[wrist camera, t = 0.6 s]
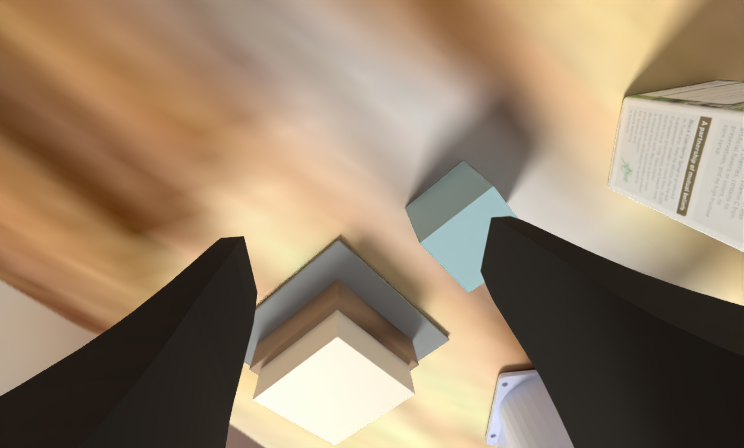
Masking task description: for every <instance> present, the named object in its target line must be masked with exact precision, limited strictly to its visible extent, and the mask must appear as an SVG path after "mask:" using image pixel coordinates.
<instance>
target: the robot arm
mask: <svg viewBox="0 0 744 448" xmlns="http://www.w3.org/2000/svg"><path fill="white" fill-rule="evenodd" d="M480 272H481V274H482V276H483V279H484V281H485V284H486V286H487V288H488V290H489V293H490V295H491V297H492V299H493V301H494V302H495V304H496V306H497V307H498V309H499V311H500V312H501V314H502V316H503V317H504V319H505V320H506V322H507V324H508V325H509V327H510V328H511V330H512V332H513V333H514V335H515V336H516V338H517V340H518V341H519V343H520V344H521V346H522V348H523V349H524V351H525V352H526V354H527V356H528V357H529V359H530V360H531V362H532V364H533V365H534V367H535V369H536V370H527V371H517V372H506V373H502V374H500V375H499V377H498V381H497V386H496V390H495V395H494V400H493V405H492V409H491V414H490V419H489V424H488V428H487V433H486V438H485V441H486V443H487V445H498V448H744V306H742V305H738V304H735V303H731V302H728V301H725V300H721V299H718V298H715V297H711V296H708V295H704V294H701V293H698V292H695V291H691V290H688V289H685V288H682V287H679V286H676V285H673V284H670V283H668V282H665V281H662V280H659V279H656V278H654V277H651V276H648V275H645V274H643V273H640V272H637V271H635V270H632V269H630V268H627V267H625V266H622V265H620V264H617V263H615V262H613V261H610V260H608V259H606V258H603V257H601V256H599V255H596V254H594V253H592V252H590V251H587V250H585V249H583V248H581V247H579V246H576V245H574V244H572V243H570V242H568V241H566V240H564V239H562V238H560V237H557V236H555V235H553V234H551V233H549V232H547V231H545V230H543V229H541V228H538V227H536V226H534V225H532V224H530V223H527V222H525V221H523V220H520V219H518V218H515V217H512V216H503V217H491V221H490V226H489V231H488V236H487V241H486V245H485V250H484V255H483V260H482V265H481V270H480ZM256 300H257V289H256V285H255V281H254V277H253V272H252V268H251V264H250V260H249V256H248V252H247V247H246V243H245V239H244V236H241V237H228V238H220V239H219V240H218V241H217V242H215V243H214V244H213V245H212V246H211V247H209V248H208V249H207V250H206V251H205V252H204V253H203V254H202V255H200V256H199V257H198V258H197V259H196V260H195V261H194V262H193V263H191V264H190V265H189V266H188V267H187V268H186V269H184V270H183V271H182V272H181V273H180V274H179V275H178V276H176V277H175V278H174V279H173V280H172V281H171V282H169V283H168V284H167V285H166V286H165V287H163V288H162V289H161V290H160V291H158V292H157V293H156V294H154V295H153V296H152V297H151V298H149V299H148V300H147V301H146V302H144V303H143V304H142V305H141V306H139V307H138V308H137V309H136V310H134V311H133V312H132V313H130V314H129V315H128V316H126V317H125V318H124V319H122V320H121V321H119V322H118V323H117V324H115V325H114V326H113V327H111V328H110V329H108V330H107V331H105V332H104V333H102V334H101V335H99V336H98V337H96V338H95V339H93V340H92V341H90V342H89V343H88V344H86V345H85V346H83V347H82V348H80V349H78V350H77V351H75V352H74V353H72V354H70V355H69V356H67V357H65V358H64V359H62V360H61V361H59V362H57V363H56V364H54V365H52V366H51V367H49V368H47V369H46V370H44V371H42V372H41V373H39V374H37V375H36V376H34V377H32V378H31V379H29V380H28V381H26V382H24V383H22V384H21V385H19V386H17V387H16V388H14V389H12V390H10V391H9V392H7V393H5V394H3V395H2V396H0V448H225V446H226V440H227V434H228V426H229V421H230V416H231V412H232V407H233V402H234V398H235V395H236V391H237V387H238V383H239V379H240V375H241V371H242V368H243V364H244V360H245V356H246V352H247V348H248V344H249V340H250V337H251V333H252V328H253V324H254V317H255V309H256Z"/></svg>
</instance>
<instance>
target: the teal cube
mask: <svg viewBox="0 0 744 448" xmlns="http://www.w3.org/2000/svg"><path fill="white" fill-rule="evenodd" d="M405 210H406V212H407V214H408V217H409V219H410V221H411V224H412V226H413V228H414V231H415V233H416V236H417V238H418V240H419V243H420V244H421V245H422V246H423V247H424V248H425V249H426V250H427V251H428V252H429V253H430V254H431V255H432V256H433V257H434V258H435V259H436V260H437V261H438V263H439V264H440V265H441V266H442V267H443V268H444V269H445V270H446V271H447V272H448V273H449V274H450V275H451V276H452V277H453V278H454V279H455V280H456V281H457V282H458V283H459V284H460V285H461V286H462V287H463V288H464V289H465V290H466V291H467V292H468V293H469V292H471V291H472V290H474V289H475V288H476V287H478V286H479V285H481V284H482V283H484V282H485V281H484V279H483V276H482V274H481V272H480V270H481V265H482V260H483V255H484V250H485V245H486V241H487V236H488V231H489V226H490V221H491V217H503V216H512V217H515V218H517V216H516V215H515V214H514V212H513V211H512V210H511V208H510V207H509V206H508V204H507V203H506V202H505V200H504V199H503V198H502V197H501V195H500V194H499V193H498V191H497V190H496V189H495V187H494V186H493V185H492V184H491V183H489V182H488V181H487V180H486V179H485V178H484V177H482V176H481V175H480V174H479V173H478V172H477V171H475V170H474V169H473V168H472V167H471V166H470V165H468V164H467V163H466V162H465V161H464V160H463V161H462V162H460V163H459V164H458V165H457V166H456V167H454V168H453V169H452V170H451V171H449V172H448V173H447V174H446V175H445V176H443V177H442V178H441V179H440V180H438V181H437V182H436V183H435V184H434V185H432V186H431V187H430V188H429V189H427V190H426V191H425V192H424V193H423V194H421V195H420V196H419V197H418V198H416V199H415V200H414V201H413V202H412V203H410V204H409V205H408V206H407V207H405Z"/></svg>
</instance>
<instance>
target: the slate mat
mask: <svg viewBox="0 0 744 448" xmlns="http://www.w3.org/2000/svg"><path fill="white" fill-rule="evenodd" d="M337 279H339V280H340V281H341V282H342V283H344V284H345V285H346V286H347V287H348V288H350V289H351V290H352V291H353V292H354V293H356V294H357V295H358V296H359V297H360V298H362V299H363V300H364V301H365V302H366V303H368V304H369V305H370V306H371V307H372V308H374V309H375V310H376V311H377V312H378V313H380V314H381V315H382V316H383V317H384V318H386V319H387V320H388V321H389V322H390V323H392V324H393V325H394V326H395V327H396V328H398V329H399V330H400V331H401V332H402V333H404V334H405V335H406V336H407V337H408V338H410V339H411V340H412V341H413V345H414V349H415V352H416V356H417V360H418V361H419V360H420V359H422V358H423V357H425V356H426V355H428V354H429V353H431V352H432V351H434V350H435V349H437V348H438V347H440V346H441V345H443V344H444V343H446V342H447V341H449V338H448V337H447V336H446V335H445V334H444V333H443V332H442V331H441V330H440V329H438V328H437V327H436V326H435V325H434V324H433V323H432V322H431V321H430V320H428V319H427V318H426V317H425V316H424V315H423V314H422V313H421V312H420V311H418V310H417V309H416V308H415V307H414V306H413V305H412V304H411V303H410V302H408V301H407V300H406V299H405V298H404V297H403V296H402V295H401V294H400V293H398V292H397V291H396V290H395V289H394V288H393V287H392V286H391V285H390V284H388V283H387V282H386V281H385V280H384V279H383V278H382V277H381V276H380V275H378V274H377V273H376V272H375V271H374V270H373V269H372V268H371V267H370V266H368V265H367V264H366V263H365V262H364V261H363V260H362V259H361V258H360V257H358V256H357V255H356V254H355V253H354V252H353V251H352V250H351V249H350V248H348V247H347V246H346V245H345V244H344V243H343V242H342V241H341V240H340V239H338V240H337V241H335V242H334V243H333V244H332V245H331V246H329V247H328V248H327V249H326V250H325V251H323V252H322V253H321V254H320V255H319V256H318V257H316V258H315V259H314V260H313V261H312V262H310V263H309V264H308V265H307V266H306V267H304V268H303V269H302V270H301V271H300V272H299V273H297V274H296V275H295V276H294V277H293V278H291V279H290V280H289V281H288V282H287V283H285V284H284V285H283V286H282V287H281V288H280V289H278V290H277V291H276V292H275V293H274V294H272V295H271V296H270V297H269V298H268V299H266V300H265V301H264V302H263V303H262V304H261V305H259V306H258V307H257V308H256V309H255V317H254V324H253V328H252V333H251V337H250V340H249V344H248V348H247V352H246V356H245V360H244V362H245V363H246V364H248V365H251V362H252V359H253V355H254V352H255V348H256V345H257V343H258V342H260V341H261V340H262V339H263V338H265V337H266V336H267V335H268V334H270V333H271V332H272V331H273V330H275V329H276V328H277V327H278V326H280V325H281V324H282V323H283V322H285V321H286V320H287V319H288V318H290V317H291V316H292V315H293V314H295V313H296V312H297V311H298V310H299V309H301V308H302V307H303V306H304V305H306V304H307V303H308V302H309V301H311V300H312V299H313V298H314V297H316V296H317V295H318V294H319V293H321V292H322V291H323V290H324V289H326V288H327V287H328V286H329V285H331V284H332V283H333V282H334V281H336V280H337Z"/></svg>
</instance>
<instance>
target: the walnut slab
mask: <svg viewBox="0 0 744 448" xmlns="http://www.w3.org/2000/svg"><path fill="white" fill-rule="evenodd" d="M336 310H339V311H340V312H341V313H342V314H344V315H345V316H346V317H348V318H349V319H350V320H351V321H353V322H354V323H355V324H356V325H358V326H359V327H360V328H362V329H363V330H364V331H365V332H367V333H368V334H369V335H371V336H372V337H373V338H374V339H376V340H377V341H378V342H379V343H381V344H382V345H383V346H385V347H386V348H387V349H388V350H390V351H391V352H392V353H394V354H395V355H396V356H397V357H399V358H400V359H401V360H403V361H404V362H405V363H406V364H408V365H409V369H410V371H411V370H412V369H414V368H415V367H417V366H418V365H419V364H418V360H417V356H416V352H415V349H414V345H413V341H412V340H411V339H410V338H408V337H407V336H406V335H405V334H404V333H402V332H401V331H400V330H399V329H398V328H396V327H395V326H394V325H393V324H392V323H390V322H389V321H388V320H387V319H386V318H384V317H383V316H382V315H381V314H380V313H378V312H377V311H376V310H375V309H374V308H372V307H371V306H370V305H369V304H368V303H366V302H365V301H364V300H363V299H362V298H360V297H359V296H358V295H357V294H356V293H354V292H353V291H352V290H351V289H350V288H348V287H347V286H346V285H345V284H344V283H342V282H341V281H340V280H339V279H337V280H336V281H334V282H333V283H332V284H331V285H329V286H328V287H327V288H326V289H324V290H323V291H322V292H321V293H319V294H318V295H317V296H316V297H314V298H313V299H312V300H311V301H309V302H308V303H307V304H306V305H304V306H303V307H302V308H301V309H299V310H298V311H297V312H296V313H295V314H293V315H292V316H291V317H290V318H288V319H287V320H286V321H285V322H283V323H282V324H281V325H280V326H278V327H277V328H276V329H275V330H273V331H272V332H271V333H270V334H268V335H267V336H266V337H265V338H263V339H262V340H261V341H260V342H258V343H257V345H256V348H255V352H254V355H253V359H252V362H251V365H250V369H249V370H251V371H252V372H254V373H256V374H258V375H259V373H260V369H261V368H263V367H264V366H265V365H267V364H268V363H269V362H271V361H272V360H273V359H274V358H276V357H277V356H278V355H280V354H281V353H282V352H283V351H285V350H286V349H287V348H289V347H290V346H291V345H293V344H294V343H295V342H296V341H298V340H299V339H300V338H302V337H303V336H304V335H305V334H307V333H308V332H309V331H311V330H312V329H313V328H314V327H316V326H317V325H318V324H320V323H321V322H322V321H324V320H325V319H326V318H327V317H329V316H330V315H331V314H333V313H334V312H335V311H336Z"/></svg>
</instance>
